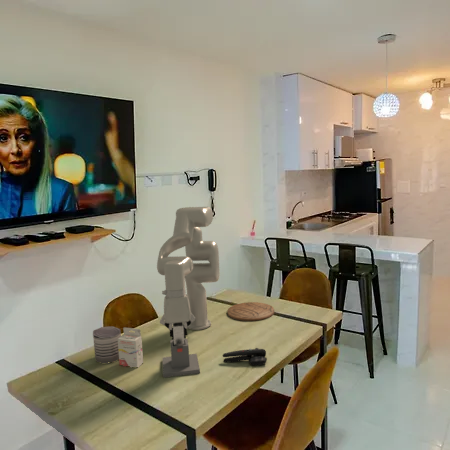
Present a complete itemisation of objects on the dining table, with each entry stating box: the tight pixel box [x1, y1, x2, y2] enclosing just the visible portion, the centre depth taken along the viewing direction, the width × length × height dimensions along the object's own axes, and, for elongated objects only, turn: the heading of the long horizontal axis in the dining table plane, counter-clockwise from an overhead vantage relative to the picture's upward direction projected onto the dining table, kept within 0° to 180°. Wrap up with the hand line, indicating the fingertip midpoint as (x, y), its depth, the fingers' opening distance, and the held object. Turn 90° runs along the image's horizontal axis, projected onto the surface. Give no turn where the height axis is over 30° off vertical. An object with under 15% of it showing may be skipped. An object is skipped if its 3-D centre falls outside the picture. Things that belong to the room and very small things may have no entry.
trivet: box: [227, 301, 275, 322], centre depth 222 cm, size 25×25×2 cm
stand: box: [162, 338, 201, 378], centre depth 164 cm, size 14×14×11 cm
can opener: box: [222, 347, 268, 366], centre depth 167 cm, size 18×7×6 cm, turn 82°
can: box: [92, 326, 122, 364], centre depth 176 cm, size 11×11×12 cm
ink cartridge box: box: [118, 327, 144, 368], centre depth 168 cm, size 9×5×15 cm, turn 71°
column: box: [172, 322, 185, 346], centre depth 164 cm, size 4×4×17 cm
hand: (178, 337), depth 164 cm, fingers closed on column, 4 cm apart
